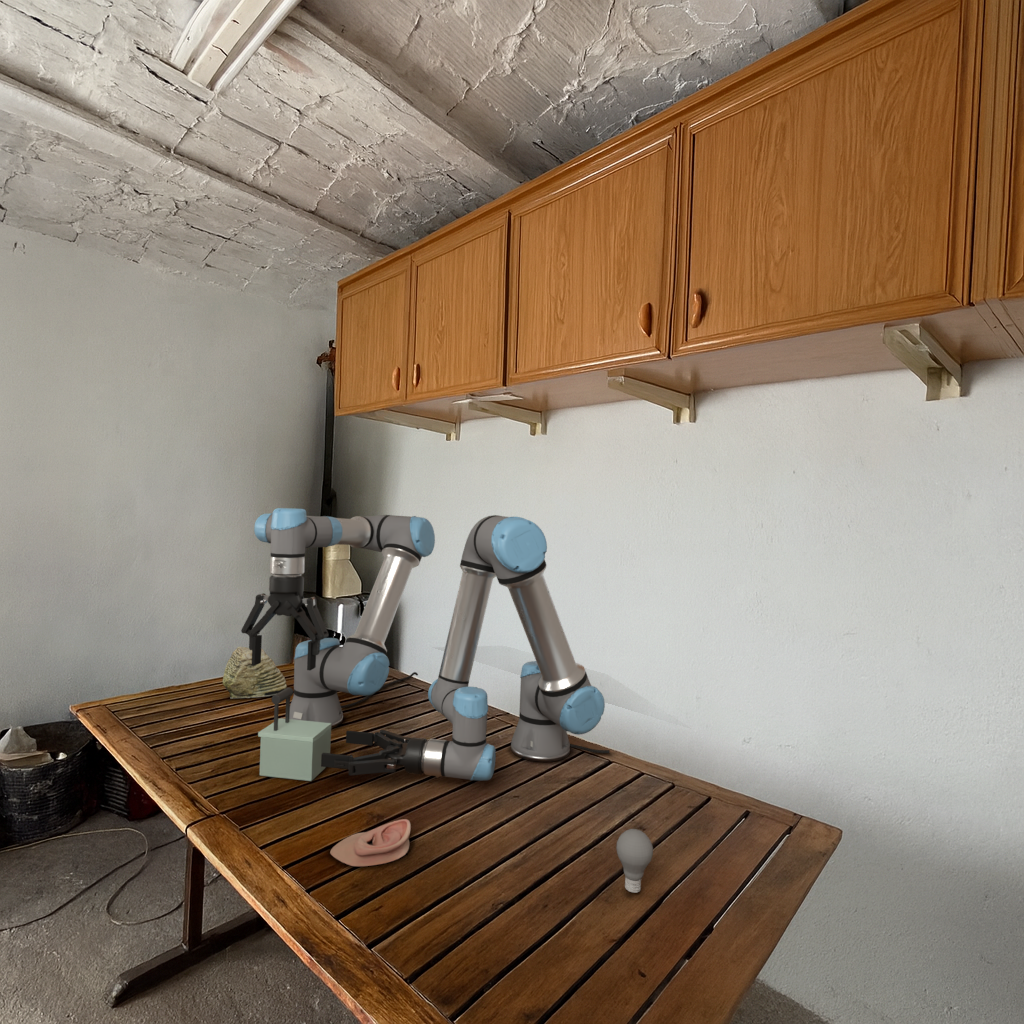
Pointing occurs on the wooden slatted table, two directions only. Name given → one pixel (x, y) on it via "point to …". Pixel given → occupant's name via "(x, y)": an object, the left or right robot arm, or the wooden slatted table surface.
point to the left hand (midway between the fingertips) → (283, 666)
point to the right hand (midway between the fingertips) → (334, 747)
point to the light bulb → (634, 857)
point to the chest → (293, 757)
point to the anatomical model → (374, 845)
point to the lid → (292, 723)
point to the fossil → (252, 675)
